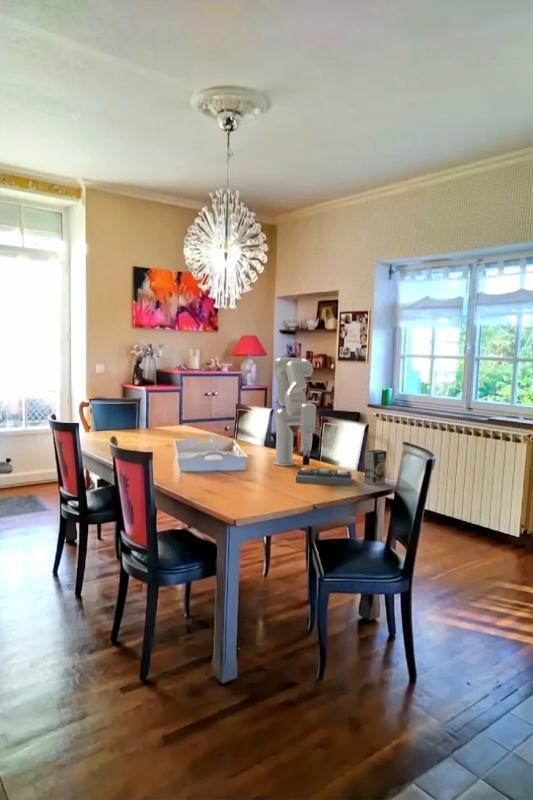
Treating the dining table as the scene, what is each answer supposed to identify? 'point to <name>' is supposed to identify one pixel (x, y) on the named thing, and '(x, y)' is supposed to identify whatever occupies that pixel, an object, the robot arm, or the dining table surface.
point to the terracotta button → (305, 469)
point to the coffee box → (375, 467)
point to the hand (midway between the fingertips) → (305, 464)
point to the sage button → (323, 470)
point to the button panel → (324, 477)
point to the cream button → (342, 472)
